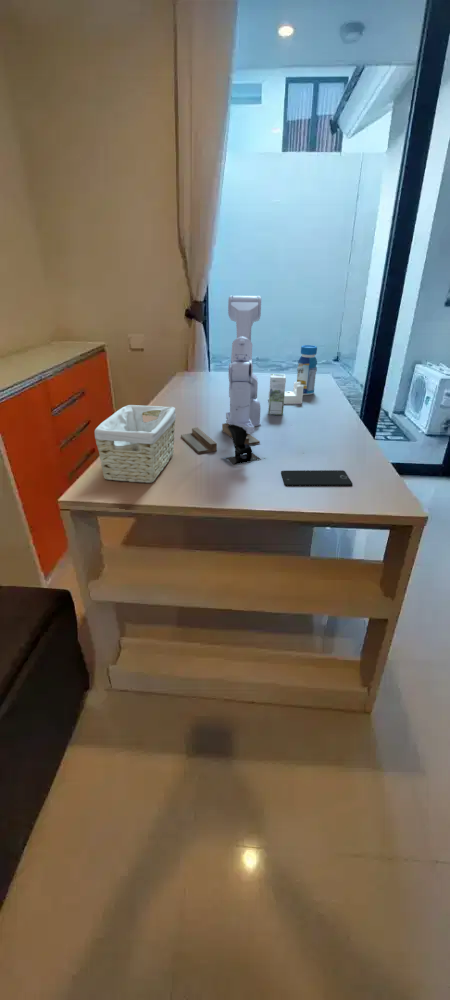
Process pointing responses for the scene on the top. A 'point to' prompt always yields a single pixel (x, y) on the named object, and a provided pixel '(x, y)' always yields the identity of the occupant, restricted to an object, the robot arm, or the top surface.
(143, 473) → the storage basket
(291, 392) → the bracket
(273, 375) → the syrup box
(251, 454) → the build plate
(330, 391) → the top surface
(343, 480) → the cell phone
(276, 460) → the top surface
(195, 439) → the wooden stepped rails
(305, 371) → the beverage bottle
